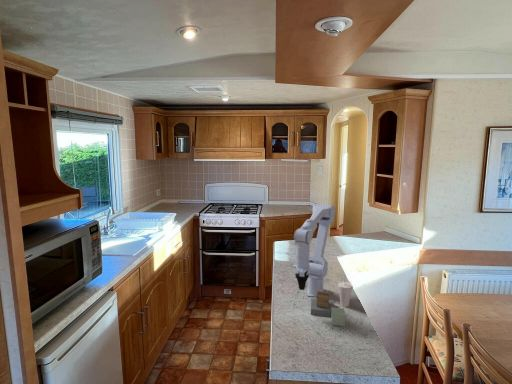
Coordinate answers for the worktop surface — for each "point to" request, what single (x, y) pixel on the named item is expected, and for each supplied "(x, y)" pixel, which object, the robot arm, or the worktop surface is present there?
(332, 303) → the charcoal slab
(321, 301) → the walnut cube
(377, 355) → the worktop surface
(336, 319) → the sage block
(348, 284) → the smoothie
